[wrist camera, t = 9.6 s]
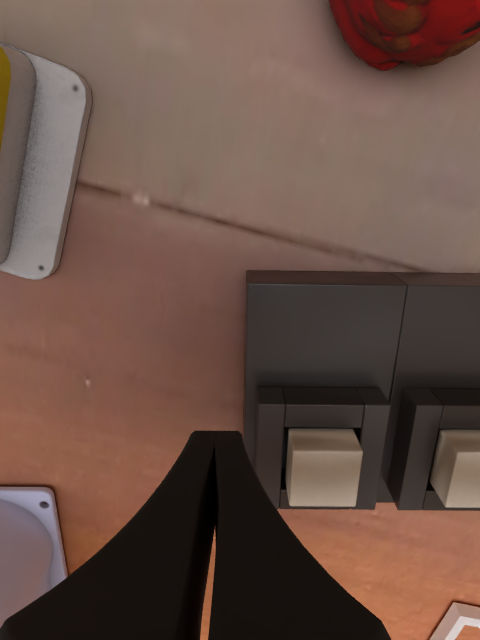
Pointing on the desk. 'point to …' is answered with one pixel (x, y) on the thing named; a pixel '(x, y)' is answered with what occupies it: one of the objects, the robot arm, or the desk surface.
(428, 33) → the red clay folk toy
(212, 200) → the desk surface
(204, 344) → the desk surface
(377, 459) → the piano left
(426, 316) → the dark brown notched block
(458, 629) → the photo frame
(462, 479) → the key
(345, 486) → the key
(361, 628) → the robot arm
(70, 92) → the emergency button
